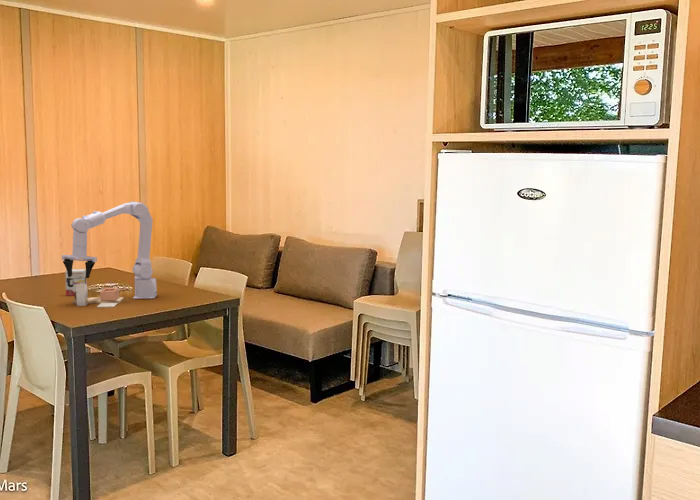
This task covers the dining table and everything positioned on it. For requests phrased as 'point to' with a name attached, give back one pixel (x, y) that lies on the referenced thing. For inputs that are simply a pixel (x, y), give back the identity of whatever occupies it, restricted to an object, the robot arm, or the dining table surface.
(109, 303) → the grey mat
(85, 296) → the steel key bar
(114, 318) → the dining table surface
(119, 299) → the birch vise base
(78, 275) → the ink box
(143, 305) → the dining table surface
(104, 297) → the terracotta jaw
